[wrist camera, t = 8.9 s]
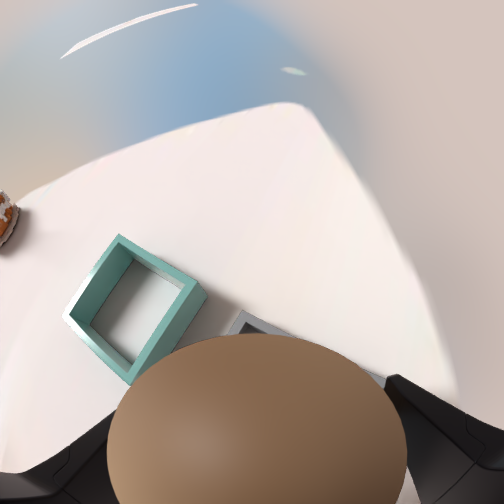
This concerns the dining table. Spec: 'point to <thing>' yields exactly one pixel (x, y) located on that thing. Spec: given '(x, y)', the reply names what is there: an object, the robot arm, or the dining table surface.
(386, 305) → the dining table surface
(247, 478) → the brown tall rounded cylinder
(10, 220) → the decorative ornament
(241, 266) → the dining table surface
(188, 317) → the teal square frame
